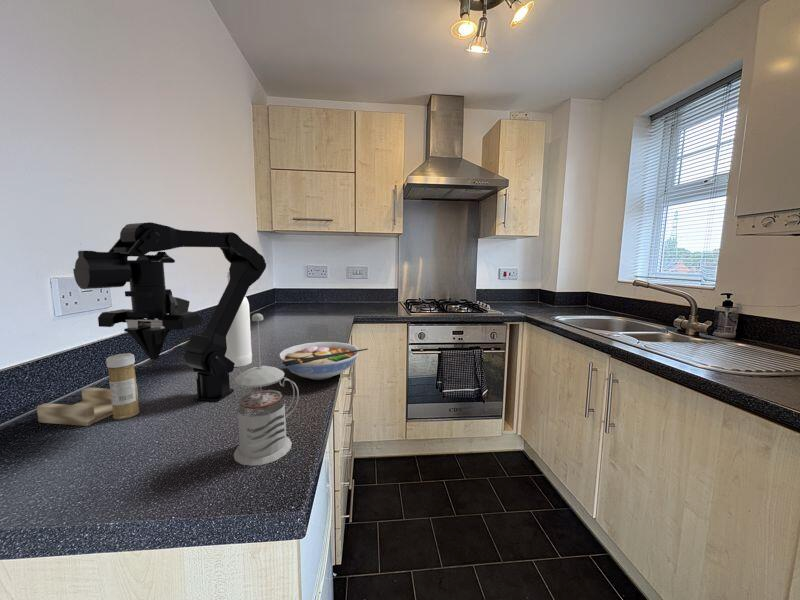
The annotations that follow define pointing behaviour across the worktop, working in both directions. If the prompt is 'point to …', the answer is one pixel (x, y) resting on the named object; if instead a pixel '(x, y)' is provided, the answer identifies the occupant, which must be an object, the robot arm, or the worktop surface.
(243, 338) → the bottle
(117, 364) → the sprinkles bottle
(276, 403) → the french press
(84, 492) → the worktop surface
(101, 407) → the bottle rest
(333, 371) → the ramen bowl
